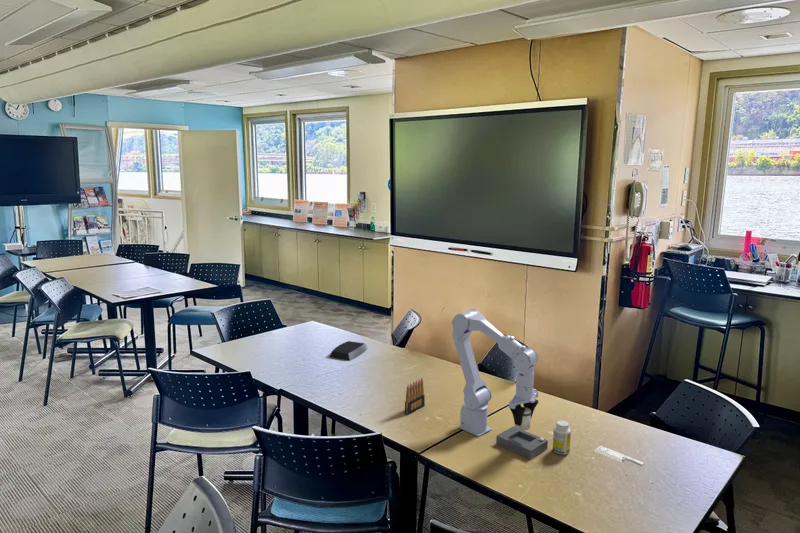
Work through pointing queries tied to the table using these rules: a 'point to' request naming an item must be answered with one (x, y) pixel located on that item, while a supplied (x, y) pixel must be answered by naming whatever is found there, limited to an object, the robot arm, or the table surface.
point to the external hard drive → (348, 350)
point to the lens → (525, 420)
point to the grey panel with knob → (522, 442)
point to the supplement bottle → (561, 437)
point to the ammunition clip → (414, 397)
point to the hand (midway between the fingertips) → (522, 422)
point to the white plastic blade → (615, 455)
